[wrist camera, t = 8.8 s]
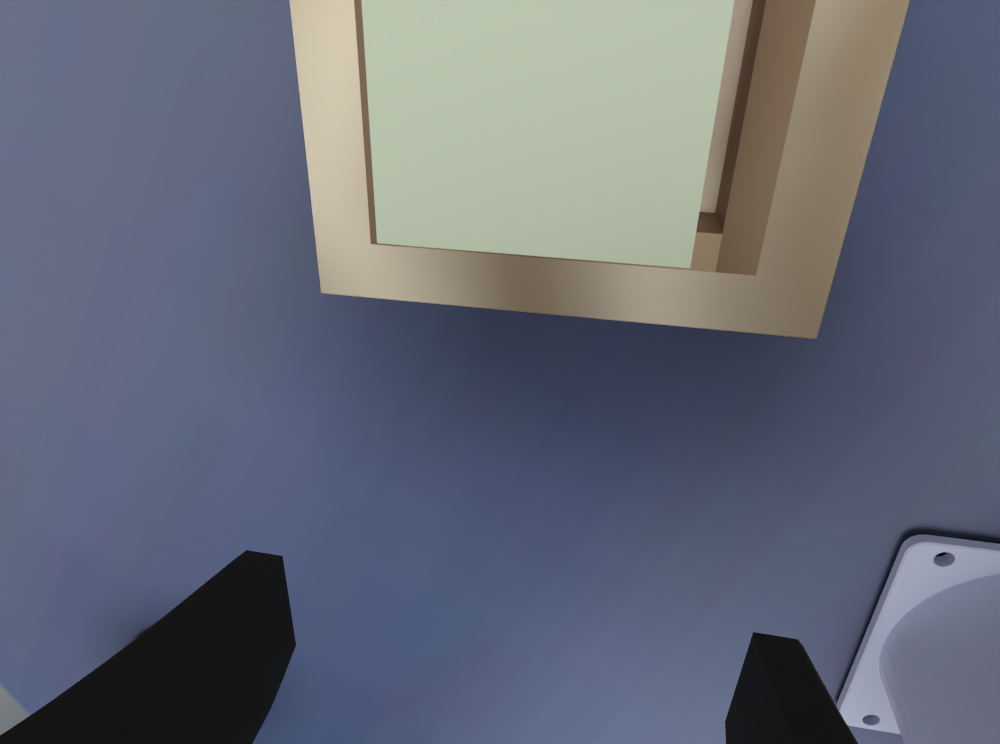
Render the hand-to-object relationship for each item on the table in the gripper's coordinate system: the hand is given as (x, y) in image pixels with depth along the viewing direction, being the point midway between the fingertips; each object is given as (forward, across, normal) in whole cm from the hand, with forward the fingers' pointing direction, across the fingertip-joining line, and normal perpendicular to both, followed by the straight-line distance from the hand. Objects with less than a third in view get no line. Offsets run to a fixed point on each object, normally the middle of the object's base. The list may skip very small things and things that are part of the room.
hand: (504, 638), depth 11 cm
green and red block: (+8, 0, -8) cm, 11 cm away
